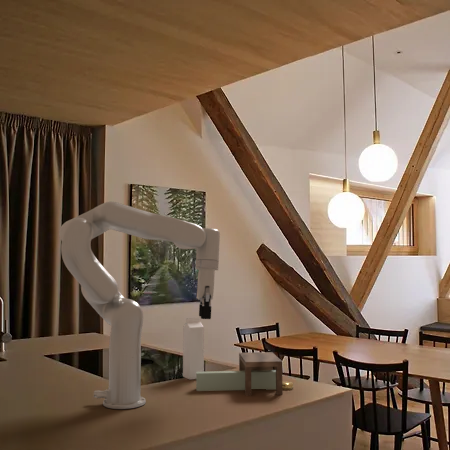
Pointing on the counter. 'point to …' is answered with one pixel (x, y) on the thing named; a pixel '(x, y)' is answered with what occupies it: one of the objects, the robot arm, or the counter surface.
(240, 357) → the brown wooden stool
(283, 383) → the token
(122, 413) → the counter surface
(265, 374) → the slat
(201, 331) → the milk
